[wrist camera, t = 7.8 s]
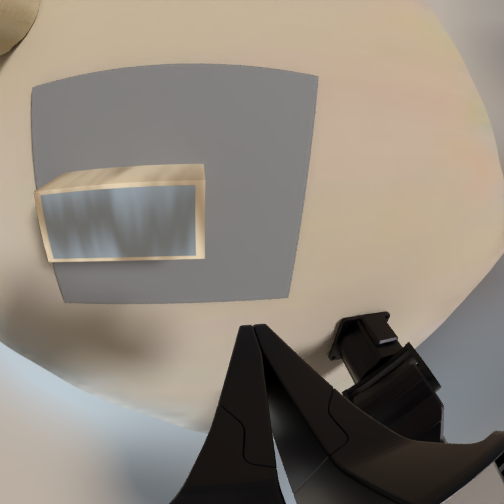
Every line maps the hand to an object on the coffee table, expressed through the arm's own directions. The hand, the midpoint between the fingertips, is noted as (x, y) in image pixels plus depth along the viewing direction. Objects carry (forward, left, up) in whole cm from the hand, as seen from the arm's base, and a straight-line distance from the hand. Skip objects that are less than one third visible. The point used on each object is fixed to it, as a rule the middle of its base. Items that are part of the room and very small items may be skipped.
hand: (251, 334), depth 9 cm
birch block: (+1, +1, -10) cm, 10 cm away
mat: (+1, +4, -13) cm, 13 cm away
